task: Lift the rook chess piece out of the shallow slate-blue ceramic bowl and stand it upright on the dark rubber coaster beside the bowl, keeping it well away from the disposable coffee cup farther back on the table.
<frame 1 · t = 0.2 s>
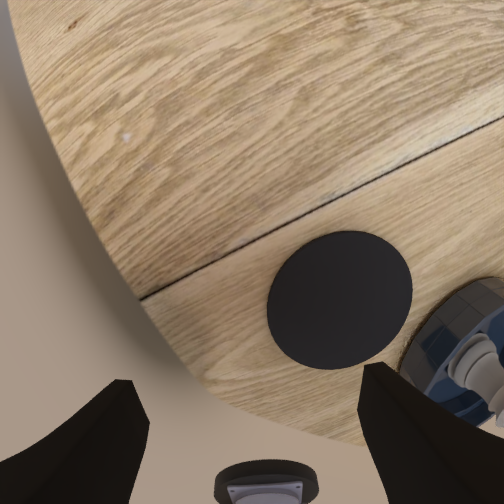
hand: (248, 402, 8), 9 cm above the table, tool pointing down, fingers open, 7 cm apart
coaster: (343, 305, 17), on the table
bowl: (464, 351, 19), on the table
rook chess piece: (465, 353, 18), resting on bowl
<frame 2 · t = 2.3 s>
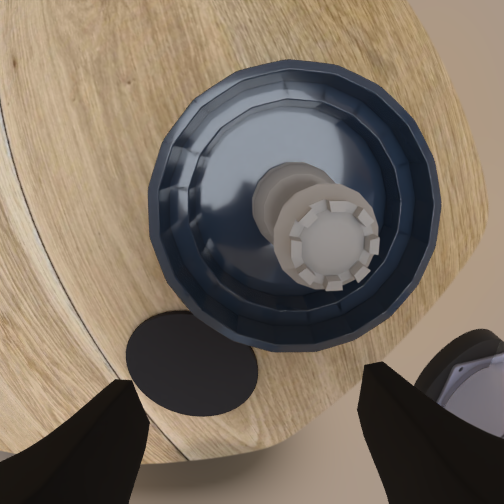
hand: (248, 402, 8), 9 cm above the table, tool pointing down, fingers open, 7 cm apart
coaster: (190, 368, 19), on the table
bowl: (293, 203, 16), on the table
rook chess piece: (294, 204, 16), resting on bowl
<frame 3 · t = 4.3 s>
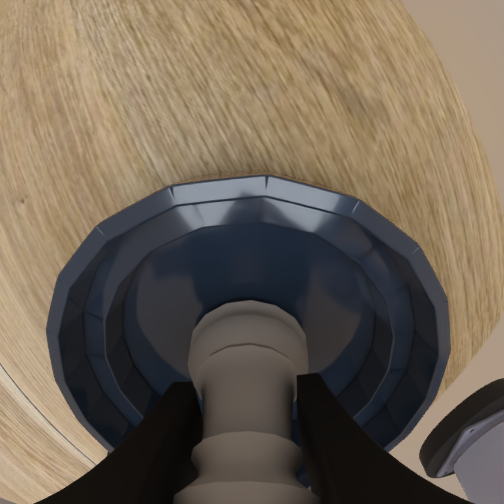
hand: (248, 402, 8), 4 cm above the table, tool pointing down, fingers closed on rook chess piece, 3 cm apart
bowl: (248, 339, 12), on the table
rook chess piece: (248, 342, 12), resting on bowl, touching gripper
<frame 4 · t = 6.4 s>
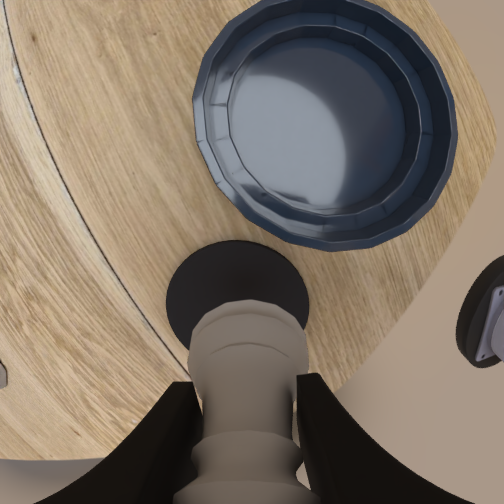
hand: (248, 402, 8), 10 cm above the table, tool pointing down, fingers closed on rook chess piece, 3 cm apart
coaster: (237, 309, 19), on the table
bowl: (322, 119, 16), on the table
rook chess piece: (248, 342, 12), point 7 cm above the table, touching gripper
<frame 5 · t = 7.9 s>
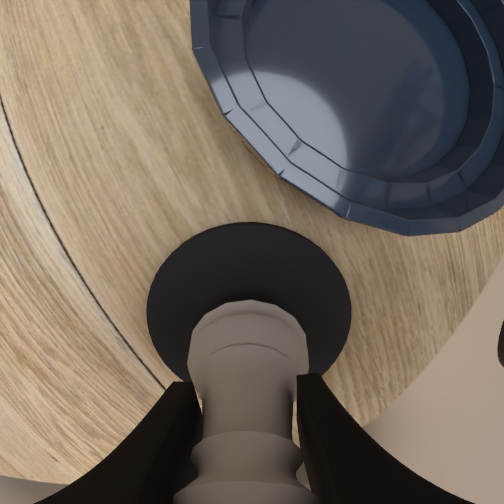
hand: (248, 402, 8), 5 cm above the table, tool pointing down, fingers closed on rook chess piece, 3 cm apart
coaster: (248, 324, 13), on the table
bowl: (370, 58, 10), on the table
rook chess piece: (248, 342, 12), point 1 cm above the table, touching gripper
when the fingers open (4 cm above the table, at t = 8.6 s): rook chess piece stays where it is, resting on coaster.
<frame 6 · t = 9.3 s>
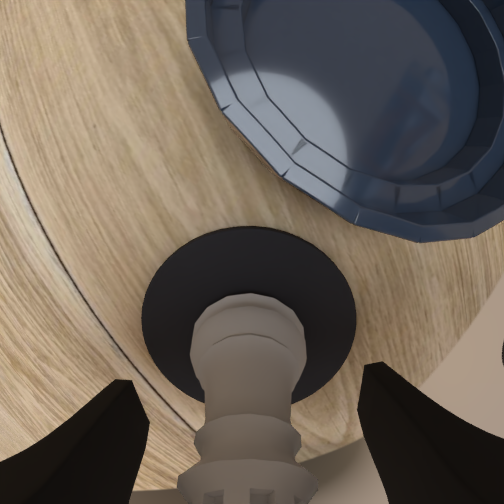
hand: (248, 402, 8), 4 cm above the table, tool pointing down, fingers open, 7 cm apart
coaster: (248, 332, 12), on the table
bowl: (377, 53, 9), on the table
rook chess piece: (248, 335, 12), resting on coaster
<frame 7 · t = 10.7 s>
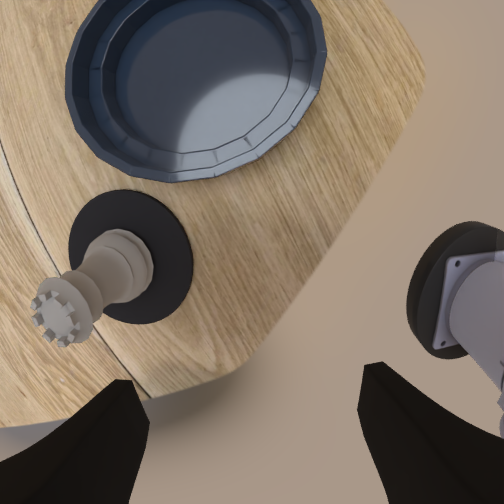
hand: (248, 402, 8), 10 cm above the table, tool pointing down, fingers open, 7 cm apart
coaster: (126, 259, 18), on the table
bowl: (198, 69, 15), on the table
rook chess piece: (125, 260, 18), resting on coaster
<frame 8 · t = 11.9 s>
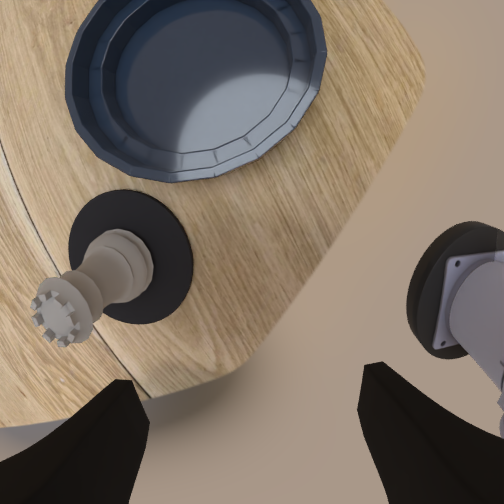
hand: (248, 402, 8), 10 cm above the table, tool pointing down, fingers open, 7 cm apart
coaster: (126, 259, 18), on the table
bowl: (198, 69, 15), on the table
rook chess piece: (125, 260, 18), resting on coaster
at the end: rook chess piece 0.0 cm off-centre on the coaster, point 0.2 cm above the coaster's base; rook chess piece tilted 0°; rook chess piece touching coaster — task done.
